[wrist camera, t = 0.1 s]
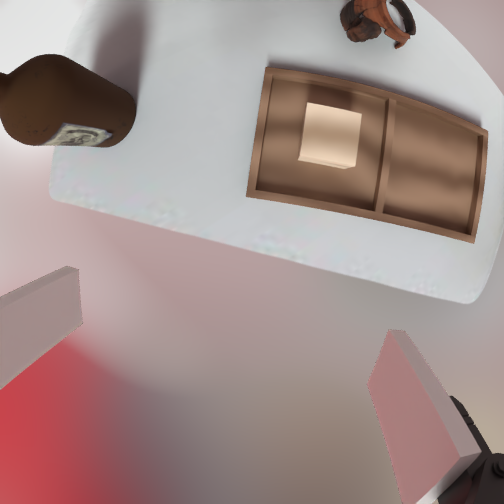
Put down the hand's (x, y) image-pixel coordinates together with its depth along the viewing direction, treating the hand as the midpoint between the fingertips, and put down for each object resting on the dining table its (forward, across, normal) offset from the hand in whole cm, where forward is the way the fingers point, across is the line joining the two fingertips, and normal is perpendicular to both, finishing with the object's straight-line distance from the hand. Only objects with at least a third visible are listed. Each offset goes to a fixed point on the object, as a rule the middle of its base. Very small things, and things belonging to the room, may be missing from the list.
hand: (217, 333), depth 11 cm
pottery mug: (+28, +10, +31) cm, 43 cm away
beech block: (+27, +6, +12) cm, 30 cm away
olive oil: (+28, -25, +13) cm, 40 cm away
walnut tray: (+28, +14, +12) cm, 33 cm away
